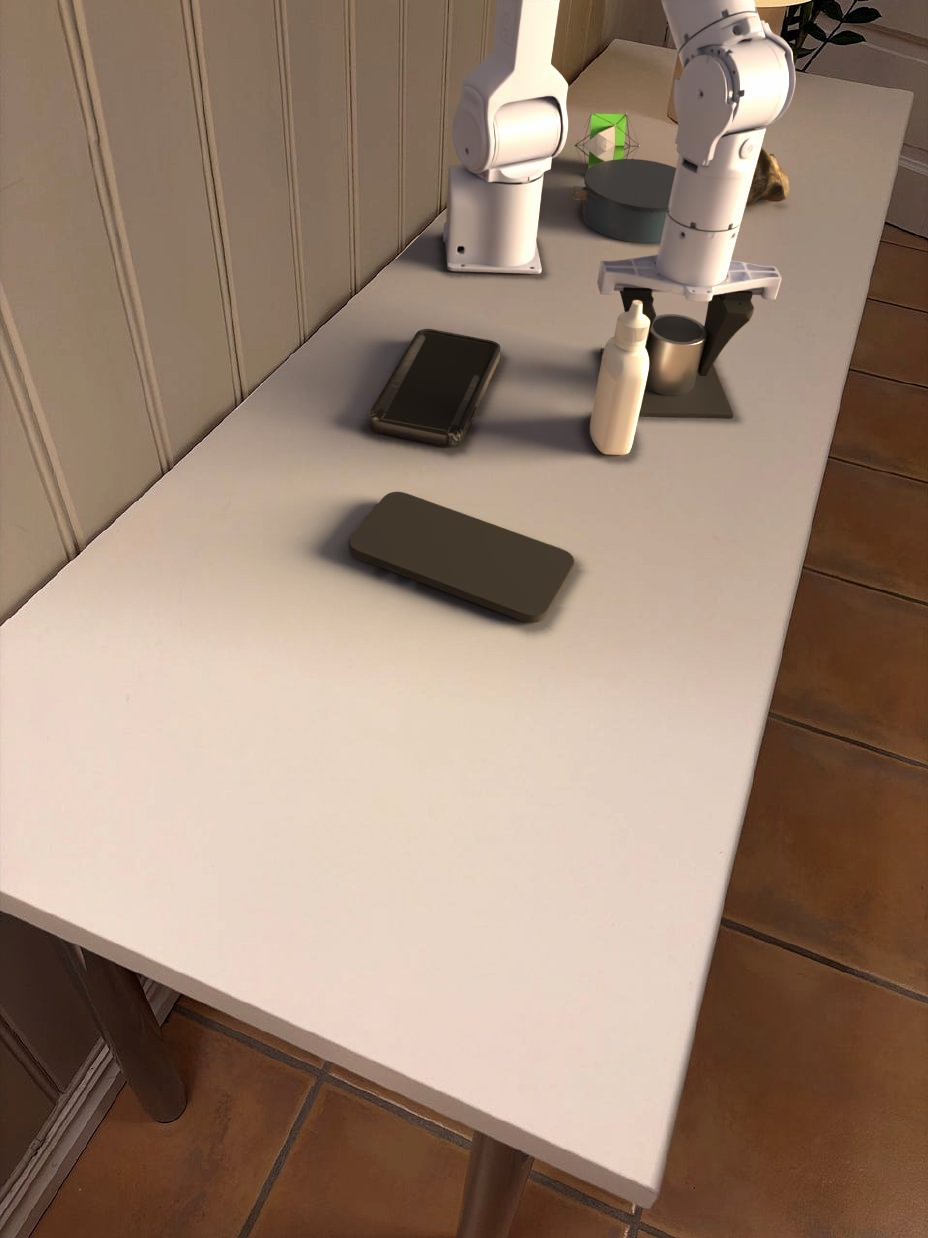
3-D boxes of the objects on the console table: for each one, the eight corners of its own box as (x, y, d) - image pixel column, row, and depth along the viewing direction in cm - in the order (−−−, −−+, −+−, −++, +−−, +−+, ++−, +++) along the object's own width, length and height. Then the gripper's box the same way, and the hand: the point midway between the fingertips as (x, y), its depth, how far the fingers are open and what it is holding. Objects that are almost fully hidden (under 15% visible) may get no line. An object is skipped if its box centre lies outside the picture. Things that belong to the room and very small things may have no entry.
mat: (616, 415, 83) (617, 411, 82) (600, 351, 90) (600, 347, 89) (732, 418, 84) (733, 414, 83) (707, 354, 90) (708, 350, 90)
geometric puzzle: (569, 136, 119) (583, 94, 111) (624, 137, 120) (642, 95, 112) (572, 192, 118) (587, 153, 110) (628, 192, 119) (647, 154, 111)
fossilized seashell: (777, 160, 117) (695, 175, 116) (795, 122, 110) (708, 138, 110) (793, 216, 115) (710, 232, 115) (812, 181, 109) (724, 197, 109)
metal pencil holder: (641, 394, 84) (652, 343, 81) (633, 363, 88) (644, 312, 84) (698, 397, 85) (712, 345, 81) (688, 365, 88) (701, 314, 84)
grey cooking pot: (577, 242, 105) (583, 204, 102) (564, 191, 113) (568, 156, 110) (711, 246, 106) (721, 210, 103) (688, 196, 114) (696, 161, 111)
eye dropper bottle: (573, 446, 79) (596, 310, 71) (598, 411, 83) (622, 278, 74) (623, 463, 78) (653, 327, 70) (646, 427, 82) (677, 294, 73)
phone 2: (540, 621, 65) (341, 545, 68) (538, 630, 65) (341, 554, 69) (579, 554, 69) (391, 486, 73) (577, 562, 70) (391, 495, 74)
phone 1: (365, 418, 78) (419, 326, 88) (365, 430, 79) (419, 337, 89) (460, 438, 77) (504, 342, 87) (459, 449, 78) (503, 353, 88)
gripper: (619, 235, 72) (591, 392, 82) (810, 242, 73) (760, 396, 83) (605, 194, 77) (580, 347, 87) (784, 201, 78) (740, 351, 88)
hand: (667, 368), depth 85 cm, fingers open, 5 cm apart
